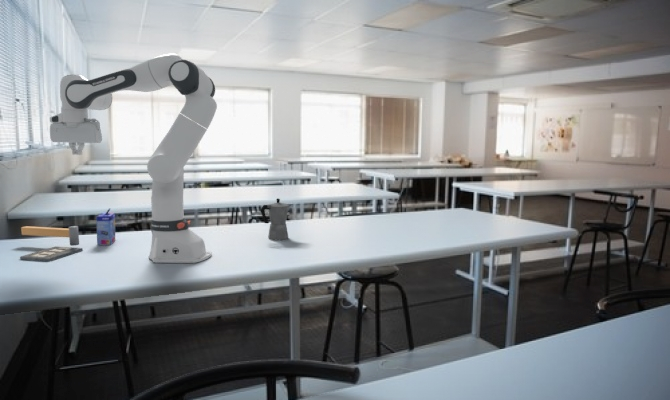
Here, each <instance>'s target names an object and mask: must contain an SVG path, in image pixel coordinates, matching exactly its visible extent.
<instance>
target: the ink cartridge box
mask: <svg viewBox="0 0 670 400" xmlns="http://www.w3.org/2000/svg"><path fill="white" fill-rule="evenodd" d="M110 211H111V208H108V209H107V211H106V212H102V213H100V214H98V215H97V216H96V217H95V218H96V245H97V246H111V245H112V244H113V243H114V242H116V213H115V212H110Z"/></svg>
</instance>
